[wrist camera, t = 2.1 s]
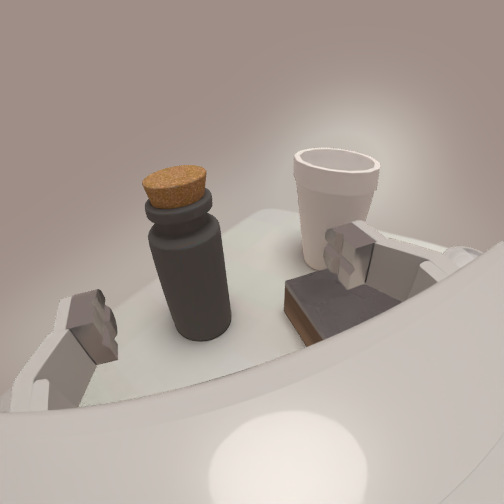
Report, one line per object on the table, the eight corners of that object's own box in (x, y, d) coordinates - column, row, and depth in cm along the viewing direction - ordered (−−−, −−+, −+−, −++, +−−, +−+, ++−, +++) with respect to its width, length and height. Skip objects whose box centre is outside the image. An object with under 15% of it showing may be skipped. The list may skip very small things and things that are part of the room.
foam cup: (304, 232, 40) (308, 144, 33) (366, 246, 37) (380, 155, 29) (281, 270, 33) (282, 164, 26) (356, 289, 30) (378, 179, 22)
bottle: (222, 293, 31) (204, 158, 22) (239, 331, 26) (223, 178, 17) (171, 306, 29) (135, 172, 20) (180, 348, 24) (133, 198, 16)
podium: (345, 406, 19) (358, 384, 16) (283, 310, 28) (285, 281, 26) (439, 347, 22) (456, 320, 20) (373, 278, 31) (380, 251, 29)
